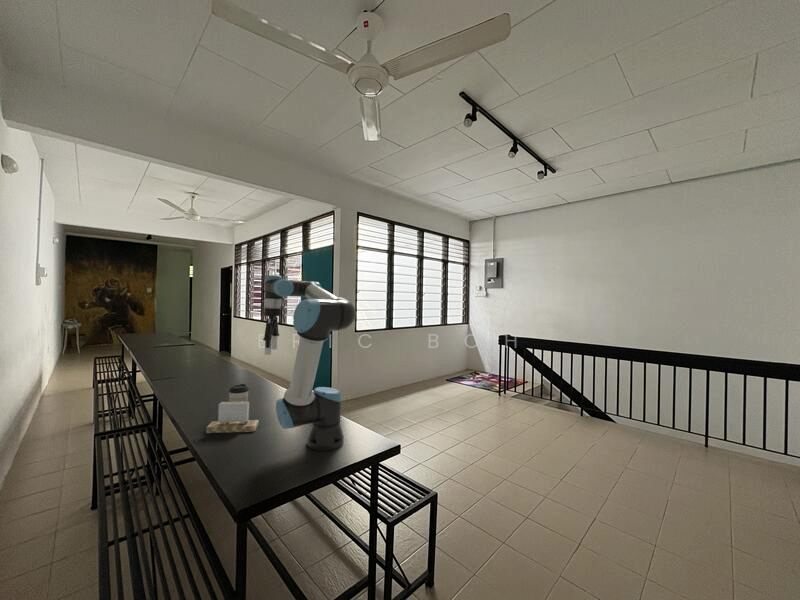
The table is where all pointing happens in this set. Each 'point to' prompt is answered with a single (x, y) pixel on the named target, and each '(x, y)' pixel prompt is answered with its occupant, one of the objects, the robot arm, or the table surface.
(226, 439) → the table surface
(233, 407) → the grey flat block
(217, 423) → the wooden ladder frame
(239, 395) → the coffee cup
